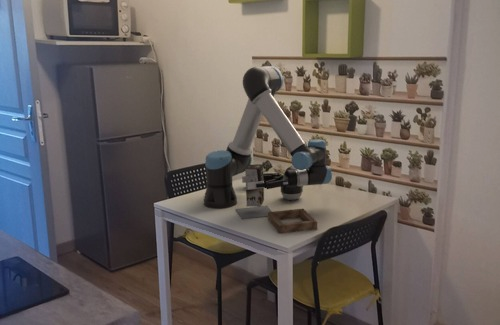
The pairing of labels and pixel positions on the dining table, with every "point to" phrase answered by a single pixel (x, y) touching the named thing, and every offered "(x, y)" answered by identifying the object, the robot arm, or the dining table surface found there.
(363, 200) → the dining table surface
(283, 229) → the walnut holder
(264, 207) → the grey rubber mat
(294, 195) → the dark rounded canister
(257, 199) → the coffee box
